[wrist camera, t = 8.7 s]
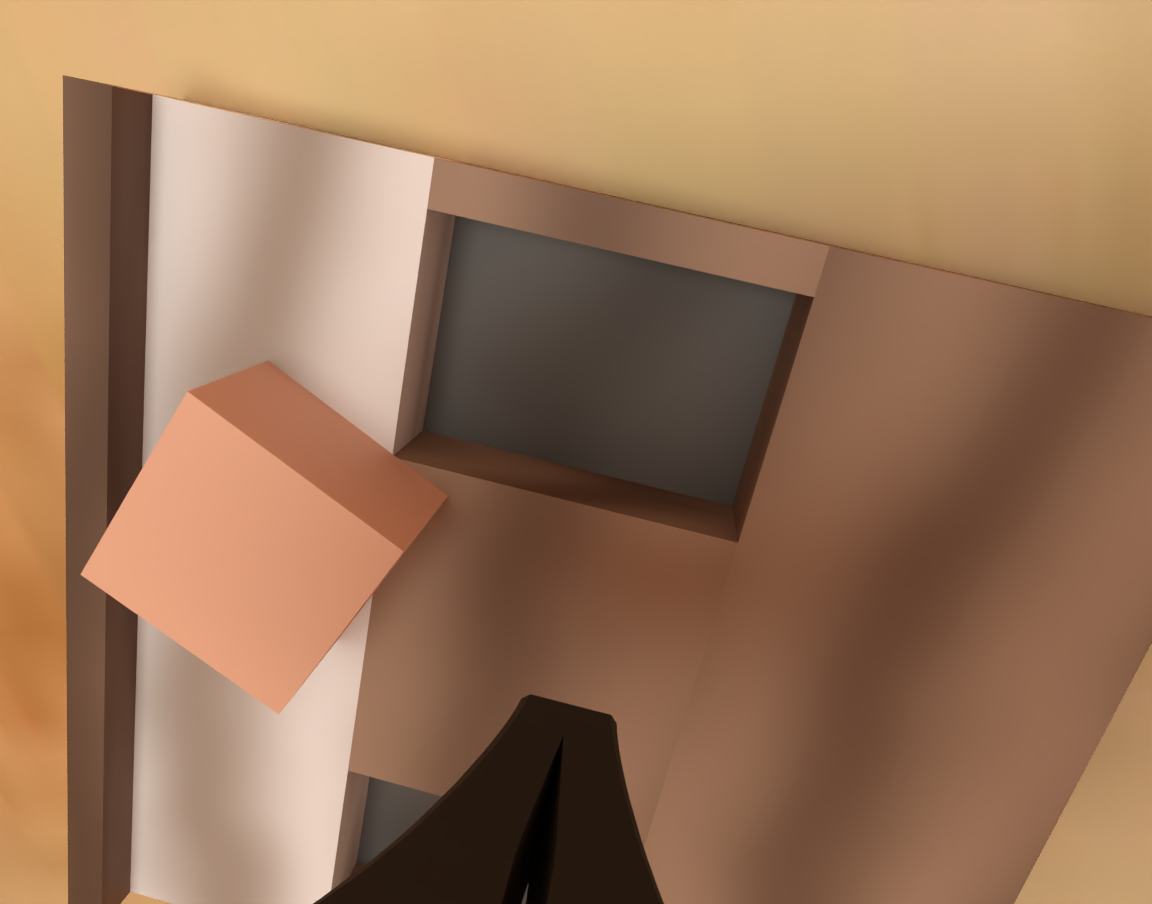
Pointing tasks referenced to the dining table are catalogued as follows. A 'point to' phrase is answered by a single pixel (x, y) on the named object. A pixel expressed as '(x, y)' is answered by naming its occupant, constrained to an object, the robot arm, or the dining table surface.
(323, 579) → the terracotta block
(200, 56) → the dining table surface
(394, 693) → the trap board
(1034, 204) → the dining table surface
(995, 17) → the dining table surface
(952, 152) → the dining table surface
